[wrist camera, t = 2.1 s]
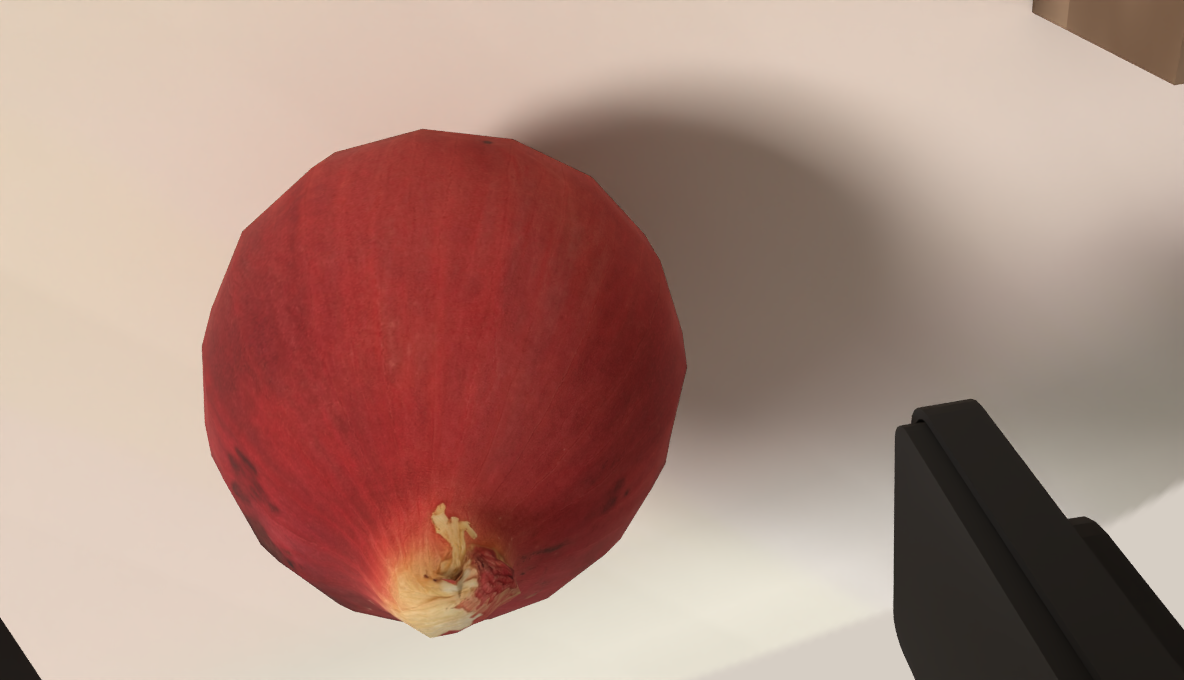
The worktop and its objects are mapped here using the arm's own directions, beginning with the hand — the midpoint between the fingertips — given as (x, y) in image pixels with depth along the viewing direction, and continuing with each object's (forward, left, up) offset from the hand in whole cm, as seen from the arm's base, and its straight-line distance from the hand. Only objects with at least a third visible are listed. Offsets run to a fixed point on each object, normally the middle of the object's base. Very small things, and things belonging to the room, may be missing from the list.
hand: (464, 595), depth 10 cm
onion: (-1, 0, -7) cm, 7 cm away
